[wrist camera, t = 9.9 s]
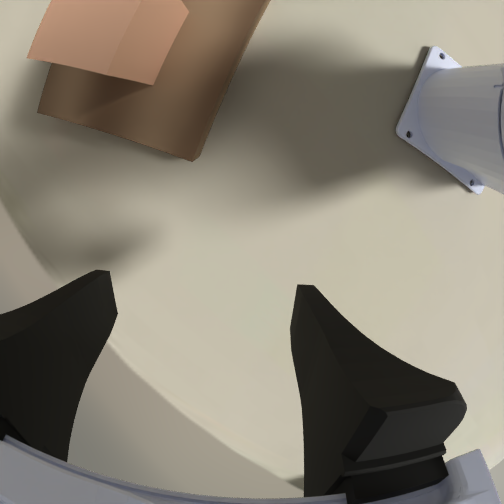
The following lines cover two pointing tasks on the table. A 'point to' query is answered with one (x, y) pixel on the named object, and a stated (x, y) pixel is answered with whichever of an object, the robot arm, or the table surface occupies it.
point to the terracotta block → (110, 36)
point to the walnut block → (163, 83)
